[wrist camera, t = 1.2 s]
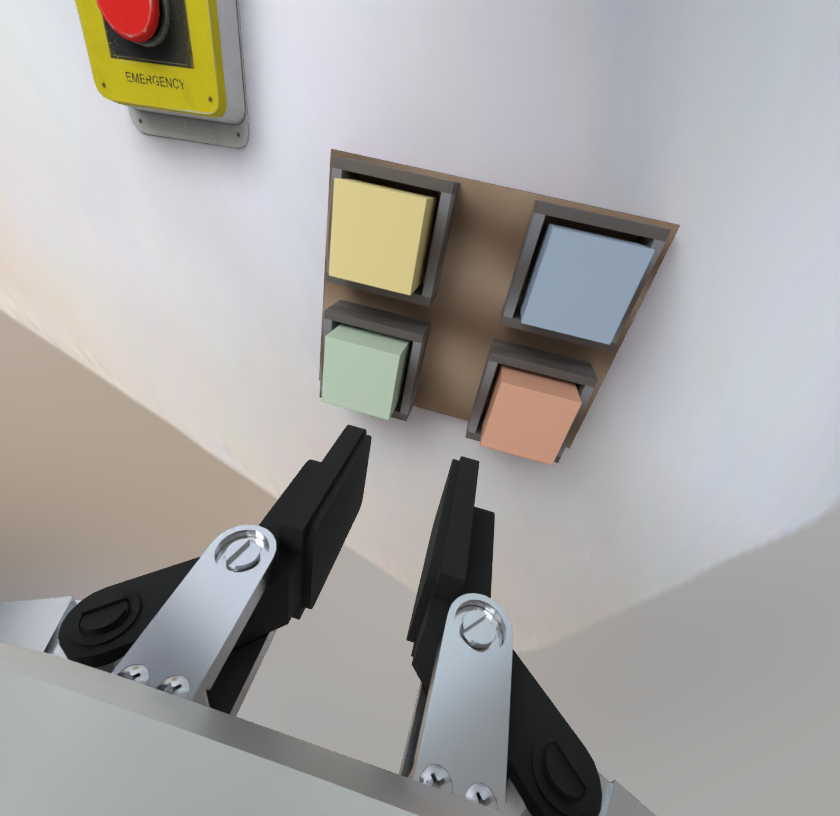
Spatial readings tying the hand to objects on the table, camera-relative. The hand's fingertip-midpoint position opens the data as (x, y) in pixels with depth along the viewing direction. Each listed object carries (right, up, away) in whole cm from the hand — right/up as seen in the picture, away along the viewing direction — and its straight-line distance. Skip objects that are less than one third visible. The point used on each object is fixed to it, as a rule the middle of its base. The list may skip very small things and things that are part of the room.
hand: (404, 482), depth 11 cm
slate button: (+10, +10, +12) cm, 19 cm away
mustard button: (-1, +14, +13) cm, 19 cm away
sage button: (-3, +6, +18) cm, 19 cm away
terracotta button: (+8, +3, +17) cm, 19 cm away
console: (+4, +10, +18) cm, 21 cm away
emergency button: (-15, +28, +13) cm, 35 cm away
